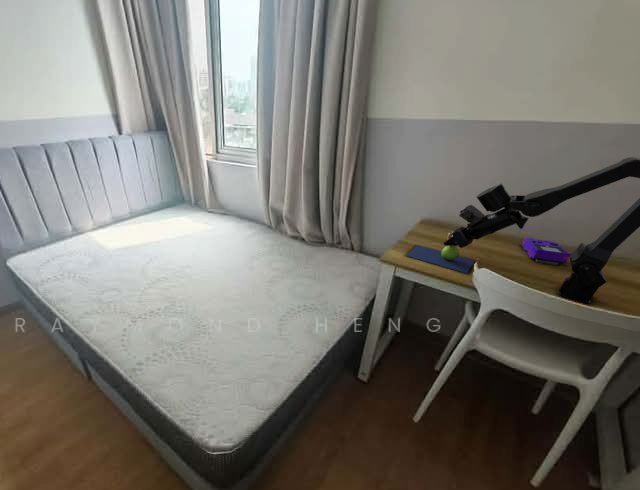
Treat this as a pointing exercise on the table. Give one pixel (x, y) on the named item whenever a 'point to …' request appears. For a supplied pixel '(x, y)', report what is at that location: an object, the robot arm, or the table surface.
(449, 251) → the snail figurine
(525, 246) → the handheld gaming console
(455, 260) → the navy cloth
